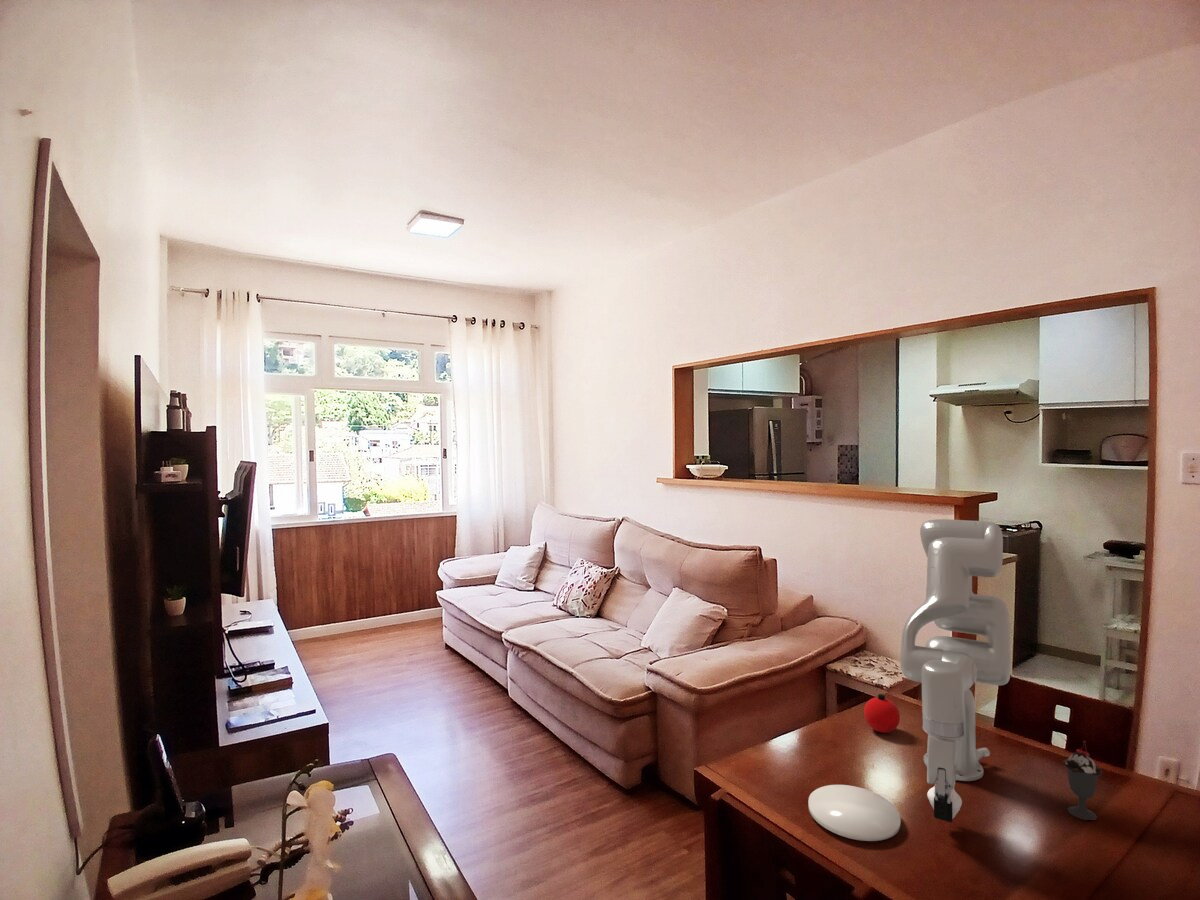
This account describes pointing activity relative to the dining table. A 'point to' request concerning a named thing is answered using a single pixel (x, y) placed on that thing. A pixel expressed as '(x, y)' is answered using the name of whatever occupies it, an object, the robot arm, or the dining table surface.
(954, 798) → the muffin
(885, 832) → the cake plate
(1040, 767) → the dining table surface
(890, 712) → the ornament
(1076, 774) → the sundae
